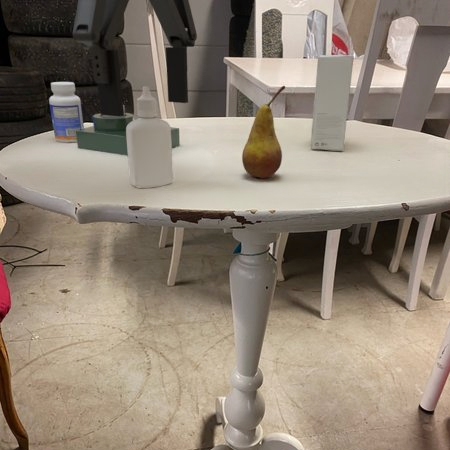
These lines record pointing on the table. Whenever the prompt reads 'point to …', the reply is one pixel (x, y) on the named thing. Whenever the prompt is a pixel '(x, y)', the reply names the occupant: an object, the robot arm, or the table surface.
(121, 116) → the pump button
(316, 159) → the table surface
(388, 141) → the table surface
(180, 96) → the robot arm
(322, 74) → the cosmetic box
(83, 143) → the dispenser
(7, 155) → the table surface
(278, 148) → the fruit
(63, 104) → the pill bottle
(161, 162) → the eye dropper bottle
